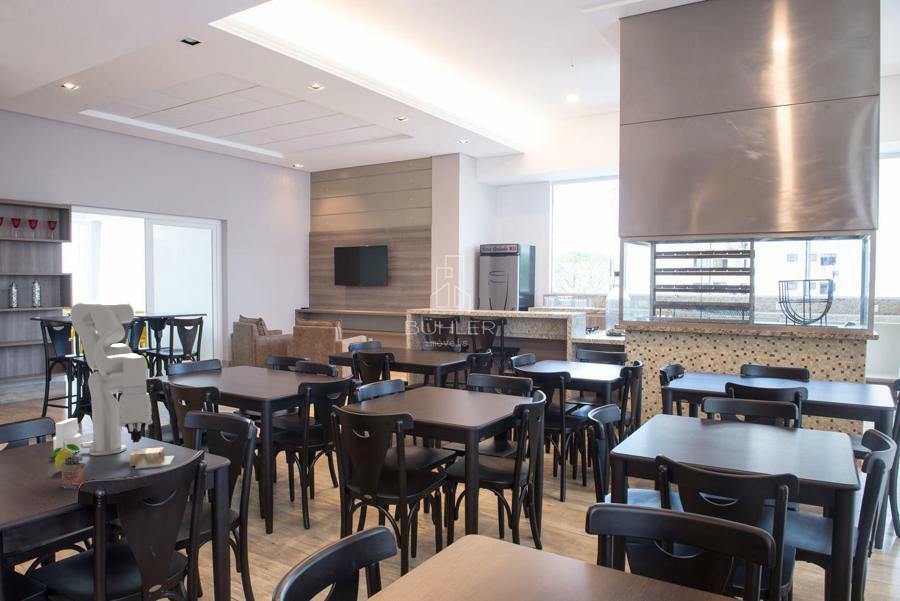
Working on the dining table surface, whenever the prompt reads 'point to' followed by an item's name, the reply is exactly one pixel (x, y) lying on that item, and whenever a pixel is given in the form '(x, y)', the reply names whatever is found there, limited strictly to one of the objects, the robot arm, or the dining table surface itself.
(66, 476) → the small potted plant
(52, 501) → the dining table surface
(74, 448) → the lemon
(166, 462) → the pale green square plate
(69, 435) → the cylinder with rectangular tab
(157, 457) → the maple block
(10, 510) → the dining table surface
